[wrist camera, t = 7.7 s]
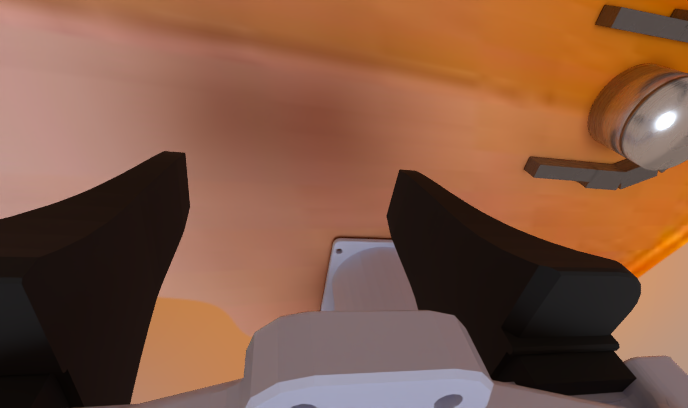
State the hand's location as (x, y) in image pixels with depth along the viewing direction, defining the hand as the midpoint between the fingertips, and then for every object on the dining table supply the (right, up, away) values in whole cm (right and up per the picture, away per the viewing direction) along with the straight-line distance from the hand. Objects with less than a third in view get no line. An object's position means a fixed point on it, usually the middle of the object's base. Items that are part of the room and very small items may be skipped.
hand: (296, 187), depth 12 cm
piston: (+21, +6, +12) cm, 25 cm away
